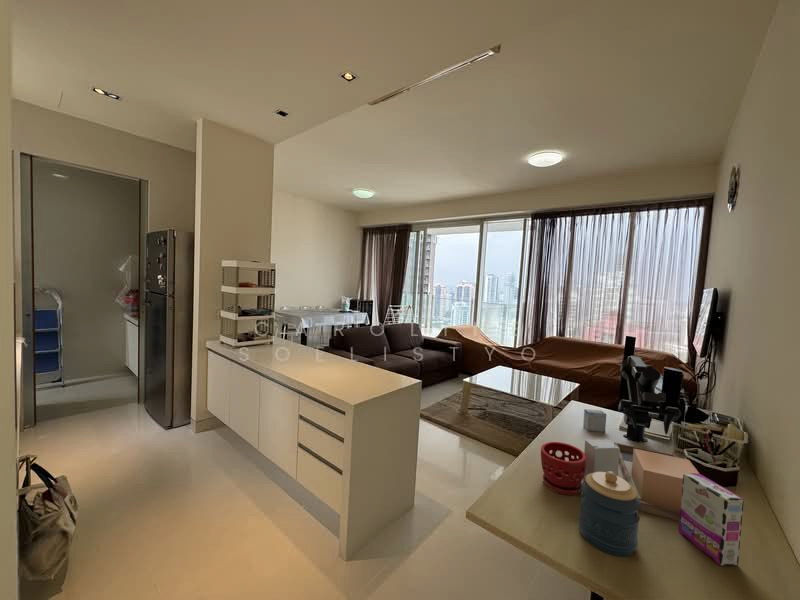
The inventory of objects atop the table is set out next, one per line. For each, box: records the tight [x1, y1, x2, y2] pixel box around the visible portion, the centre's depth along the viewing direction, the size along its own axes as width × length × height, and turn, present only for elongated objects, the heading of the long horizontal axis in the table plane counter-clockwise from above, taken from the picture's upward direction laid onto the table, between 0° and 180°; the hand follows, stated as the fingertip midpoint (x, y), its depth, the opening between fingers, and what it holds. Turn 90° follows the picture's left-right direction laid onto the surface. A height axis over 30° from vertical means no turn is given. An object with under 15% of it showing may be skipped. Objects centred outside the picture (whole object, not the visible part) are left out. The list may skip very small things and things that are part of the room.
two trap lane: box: [613, 442, 680, 522], centre depth 112 cm, size 42×20×3 cm, turn 154°
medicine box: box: [582, 408, 607, 433], centre depth 152 cm, size 8×4×9 cm, turn 84°
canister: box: [578, 471, 641, 558], centre depth 85 cm, size 13×13×18 cm
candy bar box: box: [678, 473, 745, 567], centre depth 83 cm, size 11×5×16 cm, turn 5°
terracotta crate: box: [630, 448, 700, 511], centre depth 105 cm, size 15×15×10 cm
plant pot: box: [540, 441, 586, 496], centre depth 107 cm, size 13×13×12 cm
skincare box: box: [582, 439, 620, 483], centre depth 108 cm, size 8×6×15 cm
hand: (650, 431), depth 123 cm, fingers open, 9 cm apart
